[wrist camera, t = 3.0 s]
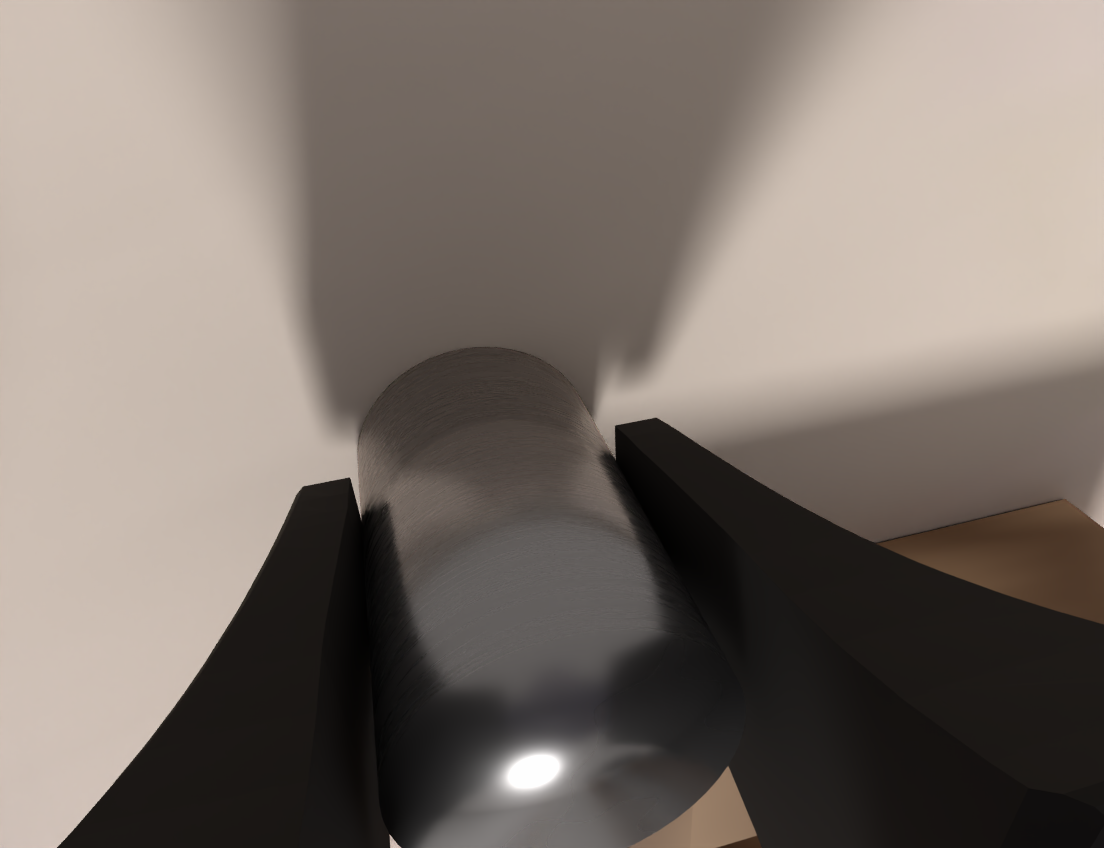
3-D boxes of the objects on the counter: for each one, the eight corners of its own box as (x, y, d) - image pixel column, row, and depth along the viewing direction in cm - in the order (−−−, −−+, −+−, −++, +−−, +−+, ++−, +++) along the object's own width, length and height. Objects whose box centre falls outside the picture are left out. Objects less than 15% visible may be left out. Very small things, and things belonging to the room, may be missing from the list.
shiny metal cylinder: (381, 563, 13) (415, 914, 8) (333, 370, 11) (339, 691, 6) (593, 518, 13) (734, 819, 9) (584, 327, 11) (760, 590, 7)
